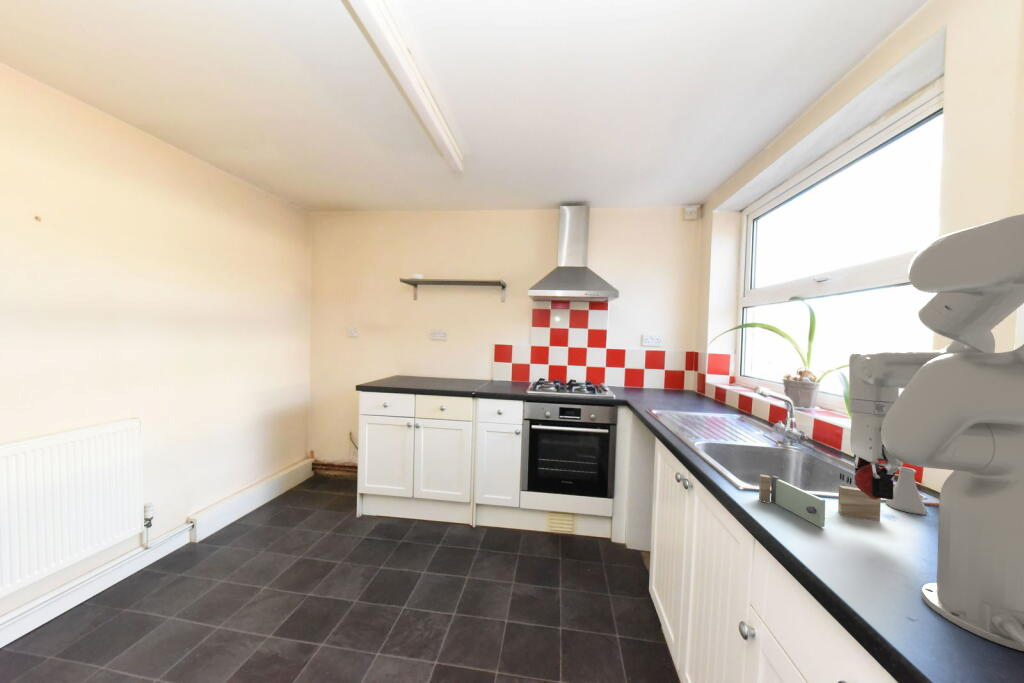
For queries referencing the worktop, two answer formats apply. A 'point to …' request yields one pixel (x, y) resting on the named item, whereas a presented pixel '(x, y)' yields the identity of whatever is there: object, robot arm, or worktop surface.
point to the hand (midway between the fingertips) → (873, 491)
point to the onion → (865, 479)
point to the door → (798, 501)
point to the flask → (907, 493)
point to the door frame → (848, 504)
